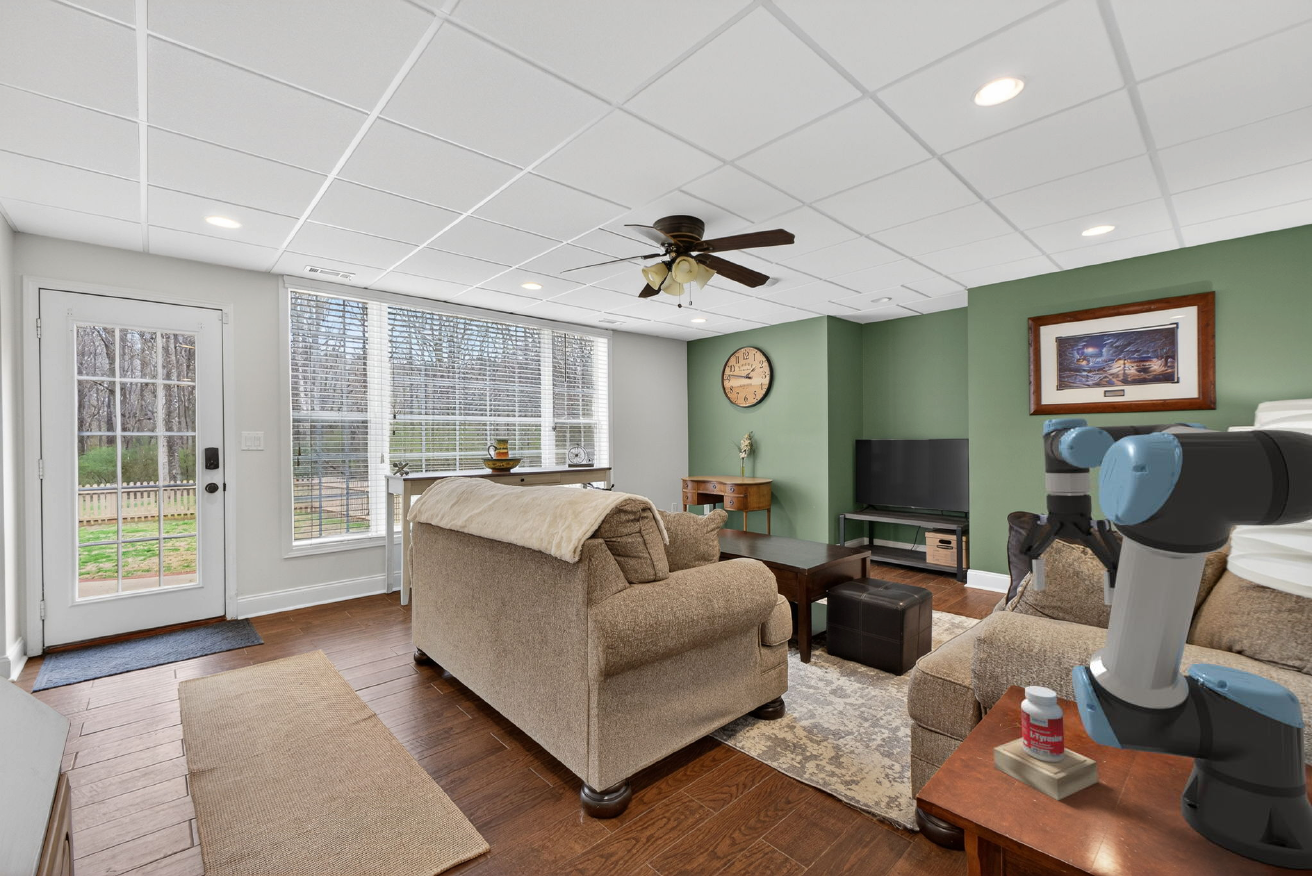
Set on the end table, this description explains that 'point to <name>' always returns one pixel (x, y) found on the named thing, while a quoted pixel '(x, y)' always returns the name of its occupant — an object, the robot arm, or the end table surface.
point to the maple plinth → (1046, 770)
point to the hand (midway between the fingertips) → (1073, 596)
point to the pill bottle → (1042, 724)
